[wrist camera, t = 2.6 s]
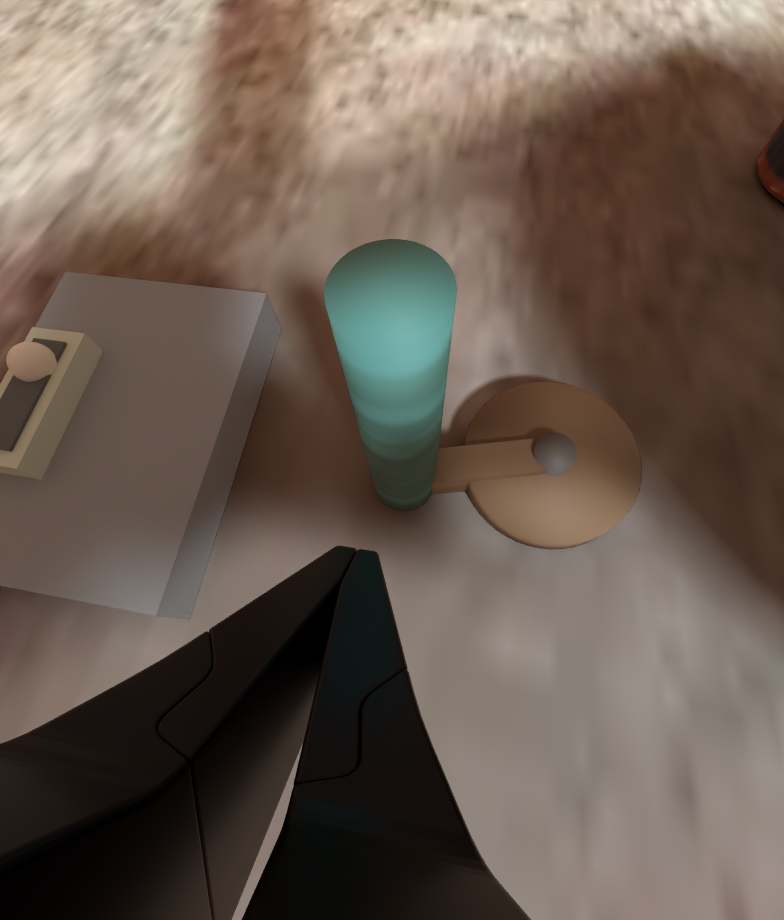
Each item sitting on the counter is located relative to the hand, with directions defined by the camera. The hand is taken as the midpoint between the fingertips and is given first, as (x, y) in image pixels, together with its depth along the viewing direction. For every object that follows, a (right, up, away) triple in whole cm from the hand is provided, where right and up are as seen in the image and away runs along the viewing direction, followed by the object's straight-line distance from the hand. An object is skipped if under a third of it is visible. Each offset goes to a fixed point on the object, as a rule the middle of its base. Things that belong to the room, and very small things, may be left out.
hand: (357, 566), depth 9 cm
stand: (-11, +3, +12) cm, 16 cm away
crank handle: (+5, +2, +10) cm, 12 cm away
